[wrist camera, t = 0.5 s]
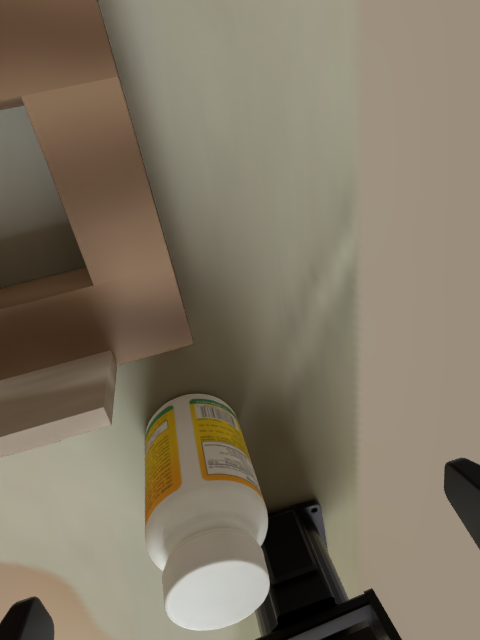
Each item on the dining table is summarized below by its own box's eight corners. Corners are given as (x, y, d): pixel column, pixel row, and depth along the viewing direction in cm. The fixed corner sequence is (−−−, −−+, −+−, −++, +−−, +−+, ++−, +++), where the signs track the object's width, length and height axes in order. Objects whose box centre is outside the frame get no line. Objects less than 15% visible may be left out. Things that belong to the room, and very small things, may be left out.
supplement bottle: (227, 378, 23) (279, 527, 14) (244, 449, 25) (298, 612, 17) (131, 406, 22) (126, 579, 14) (158, 476, 25) (168, 659, 16)
